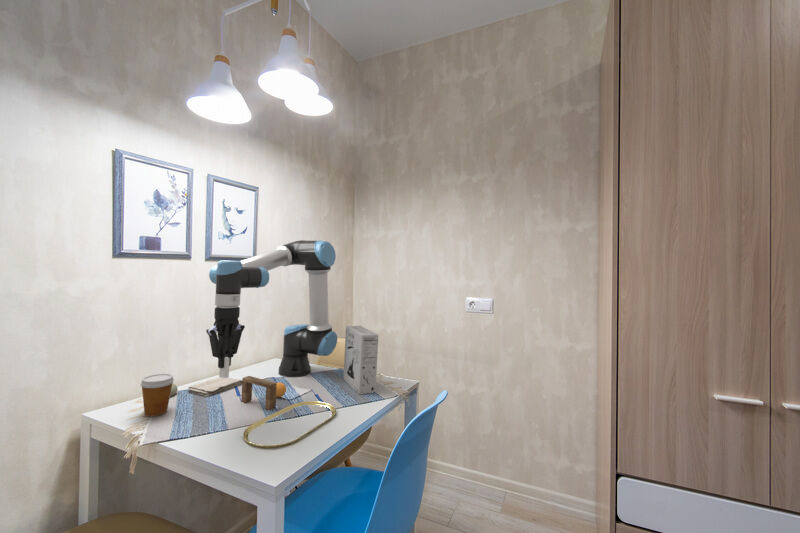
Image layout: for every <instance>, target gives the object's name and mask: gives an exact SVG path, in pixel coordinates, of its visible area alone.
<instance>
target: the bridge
mask: <svg viewBox="0 0 800 533" xmlns="http://www.w3.org/2000/svg"><path fill="white" fill-rule="evenodd" d="M241 380H242V385H241V398H240V399H241V403H242V402H243V404H247V403H249V401H250V402H252V401H251V400H252V397H253V385H256V386H259V387H262V388H263V387H264V388H265V402H264V404H265V405H264V410H265V411H268V410H270V411H272V410H275V409H276V408H277V407H276V403H277V397H276V388H277V383H278V382H274V381H271V380H266V379H263V378H259V377H256V376H253V375H252V376H251V375H246V376H244V377H242V379H241ZM271 409H272V410H271Z"/></svg>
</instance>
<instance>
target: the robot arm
mask: <svg viewBox="0 0 800 533" xmlns="http://www.w3.org/2000/svg"><path fill="white" fill-rule="evenodd" d="M336 257H337V255H336V251H335V248H334V246H333V245H332V243H330V242H329V241H326V240H301V239H300V240H296V241H293V242H292V241H291V242H289V243H286V244H282V245H280V246H277V248H276V249H274V250H271V251H268V252H265V253H261V254H257V255H255V256H252V257H251V256H250V257H248V258H245V259H241V260H224V259H222V260H219V261H218V262H217V264H216V265H214V266H212V267H211V269H210V270H209V272H208V275H209V276H208V278H209V280H210V282H211V283H213V284H215V297H214V305H215V307H214V314H213V315H214V323H213V326H212V327H211V328H207V329H206V334H207V335H208V339H209V343H210V349H211V354H212V357H214V358H217V360H218V361H217V367H218V368H219V370H218V371H219V374H218V376H219V377H222V378H227V377H228V378H230V377H229V376H230V375H229V374H230V367H231V366H232V358H234V357H235V355H236V354H238V349H239V346H240V342H241V337H242V333H243V331H244V330H245V327H246V326H245V325H244V324H243V325H242V324H241V323H240V320H239V318H240V310H241V308H240V305H241V292H242V289H249V288H252V289H253V288H254V289H255V288H256V289H259V288H263V287H266V286H267V285H268V284H269V282H270V273H269V272H270V271H271V270H273V269H277V268H279V267H289V266H294V265H298V266H299V265H300V266H304V271H305V272H306V273H307V274H308V297H309V298H308V300H309V303H308V304H309V324H307V323H305V324H294V325H287V326H286V327H285V328H284V332H283V348H282V349H283V350H282V351H283V352H282V358H281V362H280V365H279V367H278V375H280V376H283V377H291V378H292V377H293V378H296V377H304V376H307V375H309V374H310V373H311V371H312V370H311V368H312V367H311V365H310V364H311V363H310V359H309V356H308V354H309V355H310V354H311V355H316V356H319V357H321V356H324V357H328V356H330V355H331V354H332V353H333V352H334V350H335V348H336V346H337V344H338V334H337V333H336V332H335V331H333V325H332V324H331V323H330V322H329V321H330V320H329V293H328V292H329V289H328V288H329V286H328V283H329V282H328V278H329V277H328V274H329V272H330V271H331V267H332V266H334V264H335V261H336ZM219 377H218V378H219Z"/></svg>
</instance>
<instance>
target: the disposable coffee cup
mask: <svg viewBox="0 0 800 533" xmlns="http://www.w3.org/2000/svg"><path fill="white" fill-rule="evenodd" d="M174 381H175V378H174V376H173V374H170V373H157V374H151V375H147V376H144V377H143V378H142V379H141V382H140V386H141V391H142V399H143V409H144V410H143V411H144V416H145V417H157V416H161V415H165V414H166V413H167V412H168V407H169V403H170V397H171V396H170V393H171V387H172V383H173V384H174Z"/></svg>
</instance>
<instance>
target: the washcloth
mask: <svg viewBox="0 0 800 533" xmlns="http://www.w3.org/2000/svg"><path fill="white" fill-rule="evenodd" d="M239 386H242V379H238V378H231V377H227V378H222V377H216V378H213V379H212V378H211V379H209V380H206V381H203V382H200V383H197V384H193V385H190V386H188V387H187V389H188V390H187V392H188V393H191V394H193V395H197V396H202V397H204V398H207V397H211V396H212V395H215V394H219V393H222V392H225V391H228V390H230V389H233V388H236V387H239Z"/></svg>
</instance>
